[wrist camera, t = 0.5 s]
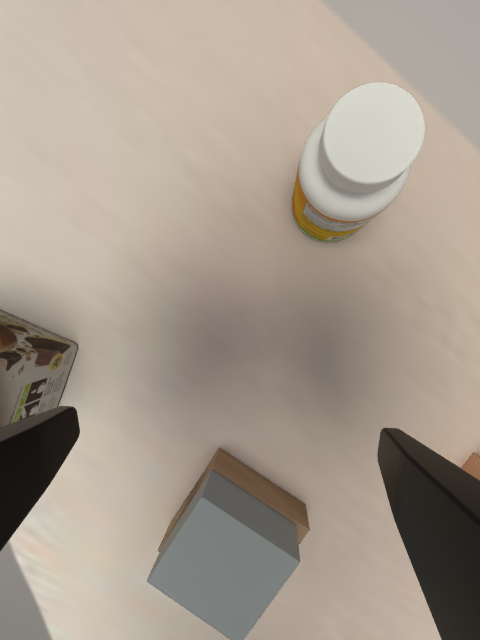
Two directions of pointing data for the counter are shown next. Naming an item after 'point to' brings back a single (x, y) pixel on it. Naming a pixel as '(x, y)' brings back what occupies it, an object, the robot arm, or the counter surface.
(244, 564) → the slate top slab
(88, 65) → the counter surface
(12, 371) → the coffee box
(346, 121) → the supplement bottle
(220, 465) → the walnut base slab
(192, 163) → the counter surface
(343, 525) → the counter surface
